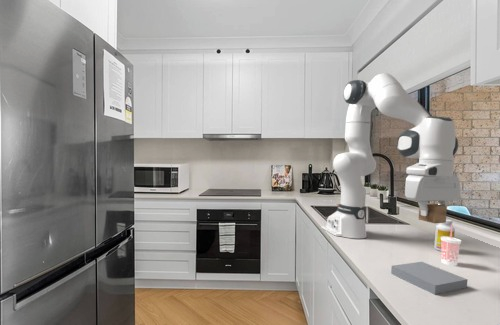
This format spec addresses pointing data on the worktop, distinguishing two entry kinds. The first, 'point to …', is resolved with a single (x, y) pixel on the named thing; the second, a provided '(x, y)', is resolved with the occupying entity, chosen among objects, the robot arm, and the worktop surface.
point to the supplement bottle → (442, 233)
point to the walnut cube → (435, 213)
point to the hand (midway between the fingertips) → (432, 215)
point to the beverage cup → (450, 249)
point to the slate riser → (429, 277)
